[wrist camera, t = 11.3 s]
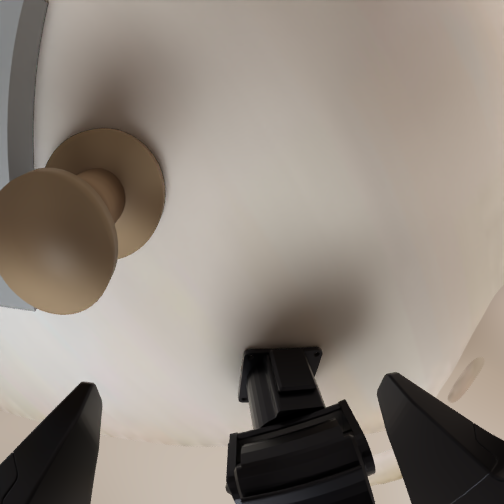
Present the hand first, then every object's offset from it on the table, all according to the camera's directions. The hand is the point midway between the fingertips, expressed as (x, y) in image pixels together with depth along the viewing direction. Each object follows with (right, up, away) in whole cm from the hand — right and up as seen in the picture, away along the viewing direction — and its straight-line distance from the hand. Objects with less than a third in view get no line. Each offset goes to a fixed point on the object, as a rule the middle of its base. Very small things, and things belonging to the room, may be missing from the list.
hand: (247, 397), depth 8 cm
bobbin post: (-9, +8, +9) cm, 15 cm away
